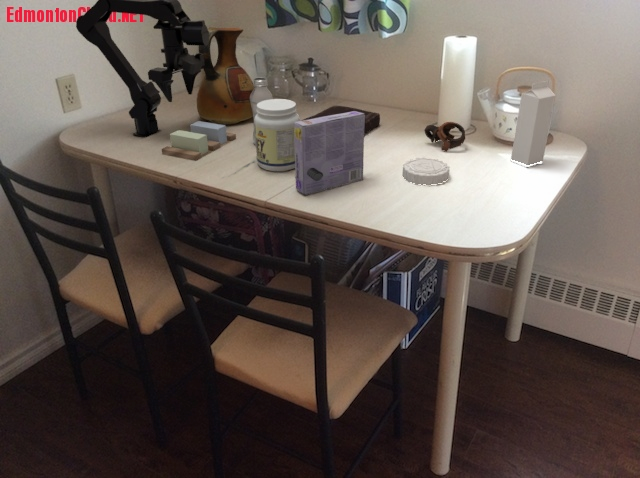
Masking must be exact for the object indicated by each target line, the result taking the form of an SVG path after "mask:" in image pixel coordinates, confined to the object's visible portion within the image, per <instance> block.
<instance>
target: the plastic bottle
mask: <svg viewBox="0 0 640 478" xmlns="http://www.w3.org/2000/svg"><path fill="white" fill-rule="evenodd" d="M253 84H254V87H255V88H254V89H253V91H252V93H251V94H250V103H251V107H252V112H253V117H252V119H253V120H254V118H255V116H256V114H257V104H258V103H259V102H261V101H264V100H270V99H274V97H273V94H272V92H271V91H270V90H269V88H268V87H267V86H268V79H267V77H255V78H253ZM252 141H253V144H254V145H255V146H256V138H255V124H254V123H253V134H252Z"/></svg>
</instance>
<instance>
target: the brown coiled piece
mask: <svg viewBox="0 0 640 478" xmlns="http://www.w3.org/2000/svg"><path fill="white" fill-rule="evenodd" d="M454 129H458V131H459V132H460V133H461V135H460V137H457V138H455V135H454V134H452V133H450V131H451V130H454ZM423 131H424V134H425V136H426V137H427V138H428V139H429V140H430V141H431V143H432V144H434V143H435V142H436V141H437V142H439V141H441V142H442V143H443V145H442V146H441V150H442V151H443V150H445V151H446V152H447V151H448V150H453V149H456V148H458V147H461V146H462V144H464V142H465V140H466V132H465V131H466V130H465V129H464V127H463V126H462V125H461V124H460V123H457V122H454V121H446V122H444V123H443V124H441V125H439V126H436V125H434V124H429V125H426V127H425V128H424V130H423ZM438 140H439V141H438ZM448 140H450V141H448ZM437 142H436V143H437ZM445 151H444V152H445Z"/></svg>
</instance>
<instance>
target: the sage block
mask: <svg viewBox="0 0 640 478" xmlns="http://www.w3.org/2000/svg"><path fill="white" fill-rule="evenodd" d="M169 139H170V145H171V146H170V147H173V148H179V149H184V150H189V151H194V152H200V153H201V155H203V154H205V153H207V152H209V151H208V142H207V135H204V134H199V133H193V132H191V131H186V130H182V129H181V130H180V129H179V130H178V129H177V130H176V131H174V132H171V133H170V134H169Z"/></svg>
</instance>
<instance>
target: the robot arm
mask: <svg viewBox="0 0 640 478" xmlns="http://www.w3.org/2000/svg"><path fill="white" fill-rule="evenodd" d="M113 13H119V14H121V13H122V14H130V15H132V14H133V15H143V16H148V17H150V18H152V19H154V20H157V21H156V23H155V24H154V25H153V29H154V30H160V32H161V37H162V45H163V48H160V53H162V54H164V60H165V61H164V63H162V67H158V66H157V67H154V68H150V69H149V70H148V71H147V75H148V80H149V82H146V81H145V80H143V79H142V78H141V76H140V75H139V74H138V72H137V71H136V69H135V68H134V67H133V66H132V64H131V63H130V62H129V60H128V59H127V58H126V56H125V55H124V54H123V53H124V52H122V51H121V49H120V48H119V47H118V45H117V44H116V43H115V41H114V40H113V38H112V35H111V31H110V27H109V25H108V23H107V22H108V20H109V19H110V17H111V16H112V14H113ZM75 23H76V25H75V28H76V29H77V31H78V32H79V34H80V35H81V36H82V37H83V38H84V39H85V40H86V41H88V42H89V43H91V44H92V45H93V46H95V47H97V48H98V50H99V51H100V52H101V53H102V55H103V56H104V57H105V59H106V60H107V62H108V63H109V64H110V65H111V67H112V68H113V70H114V71H115V73H117V75H118V76H119V77H120V79H121V80H122V81H123V83H124V84H125V85H126V87H127V88H128V90H129V95H130V96H129V97H130V99H131V101H132V103H133V106H132V107H131V108H130V110H129V111H128V114H129V117H130V118H131V119H133V120H134V126H135V132H133V133H132V135H133V136H137V137H141V138H148V137H150V136H153V135H155V134H157V133H159V132H162V130H161V129H159V125H158V120H157V117H156V116H157V115H156V114H154V113H155V112H157V110H158V107H159V106H160V104H161V102H162V101H161V100H162V97H161V95H160V91H161V92H162V94H163V96H164V97H165V99H166V100H167V101H168V102H169V103H172V102H173V94H172V93H173V91H172V84H173V83H174V79H173V76H174V75H173V74H178V73H180V72H181V76H182V78H183V83H184V85H185V89H186V92H187V94H188V95H192V94H193V89H194V87H195V86H194V84H195V81H196V77H197V76H198V75H199V74H200V73H201V72H202V70H204V65H205V63H204V55H203V54H201V53H199V52H198V53H196V54H190V53H189V50H188V48H187V47H184V46H185V45H187V46H198V47H199V46H207V45H208V42H209V31H208V29H209V28H208V27H207V25H206V22H205V19H204V20H203V19H202V20H201V19H200V20H191V18H190V17H189V16H188V14H187V13H186V12H185V11H184V9H183V8H182V4H181V2H180V1H179V0H97V1H96V2H95V4H93V6H91V7H90V8H89V9H88V10H87V11H86V12H85V13H84V14H83V15H82V14H81V15H80V16H78V17H77V18H76V22H75ZM184 44H185V45H184ZM154 83H155V84H156V85H157V87H158V88H159V89H160V91H159V90H158V89H157V87H156V86H155V84H154Z"/></svg>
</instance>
